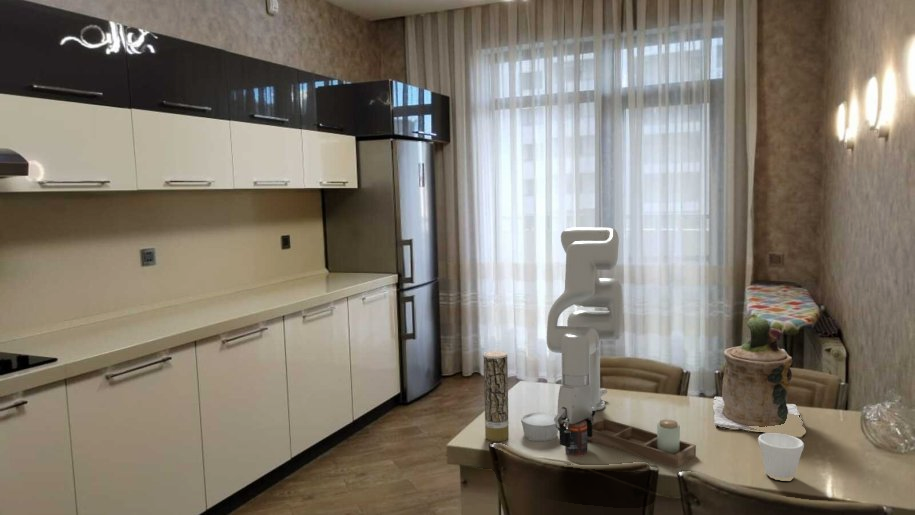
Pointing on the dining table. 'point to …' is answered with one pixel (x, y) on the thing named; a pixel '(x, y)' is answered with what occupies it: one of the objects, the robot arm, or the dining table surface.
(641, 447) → the rack
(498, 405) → the bark-patterned cylinder
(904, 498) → the dining table surface
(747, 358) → the cookie jar
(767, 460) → the cup
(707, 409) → the dining table surface
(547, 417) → the ramekin
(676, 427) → the sage jar
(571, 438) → the supplement bottle
